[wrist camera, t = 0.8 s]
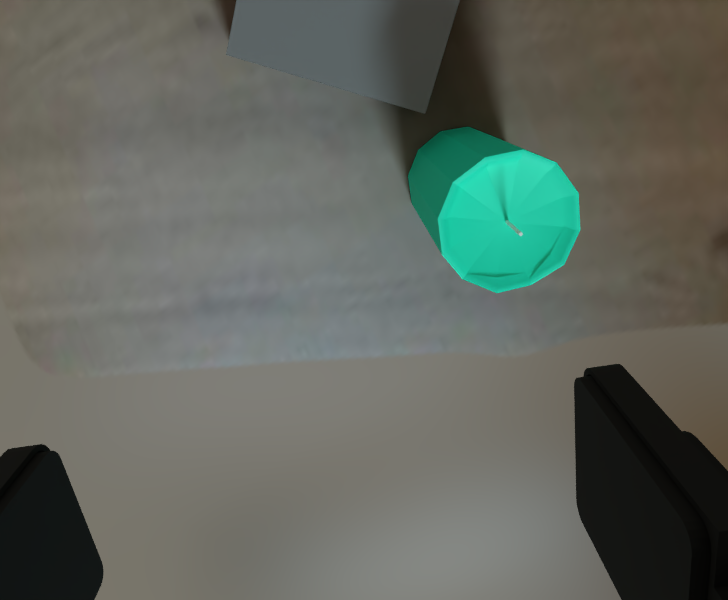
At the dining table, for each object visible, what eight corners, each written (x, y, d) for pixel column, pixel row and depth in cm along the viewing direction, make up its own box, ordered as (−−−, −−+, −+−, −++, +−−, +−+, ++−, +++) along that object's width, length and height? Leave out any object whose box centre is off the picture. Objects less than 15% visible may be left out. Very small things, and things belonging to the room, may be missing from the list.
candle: (390, 154, 34) (419, 196, 23) (490, 107, 33) (571, 126, 22) (431, 248, 36) (475, 329, 25) (526, 205, 35) (616, 269, 24)
